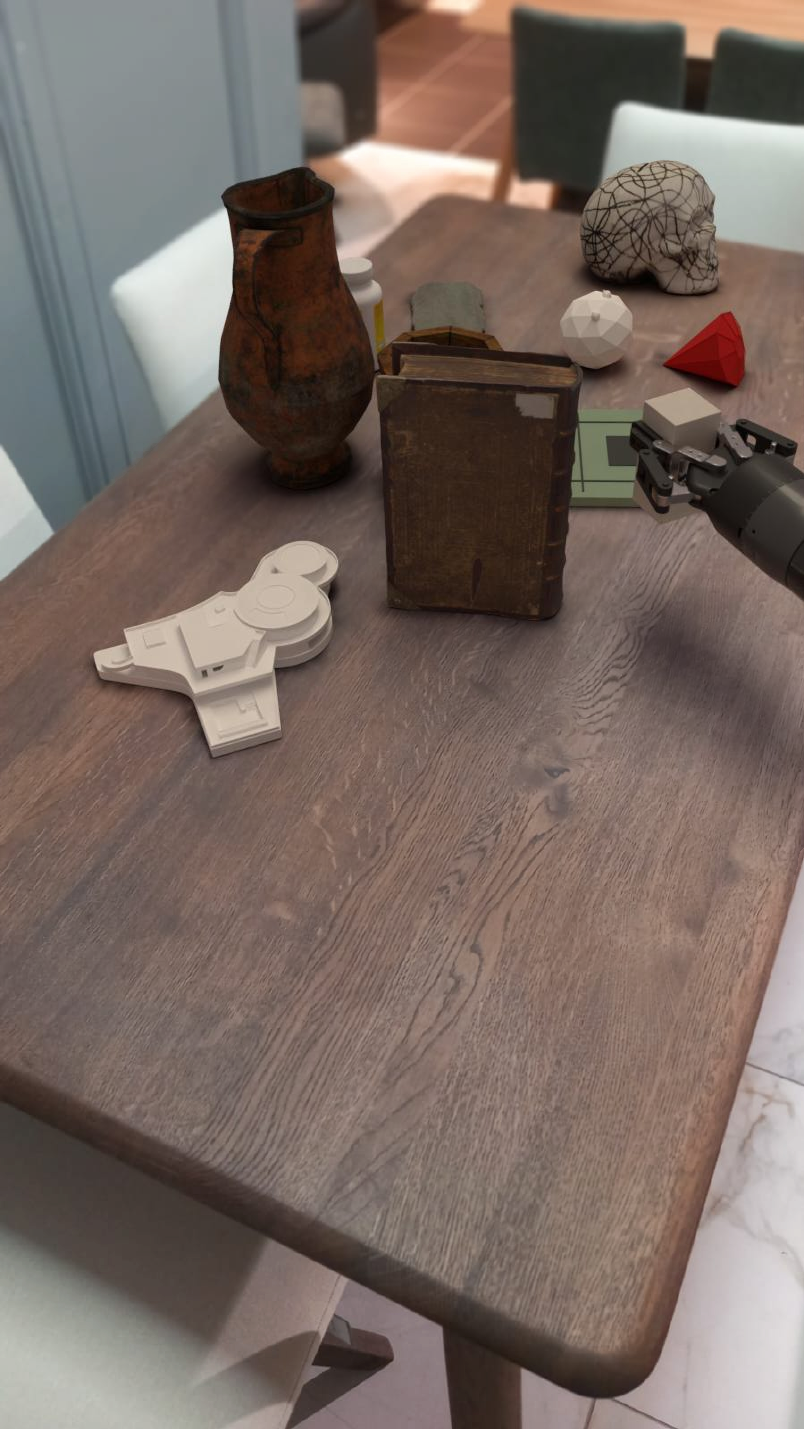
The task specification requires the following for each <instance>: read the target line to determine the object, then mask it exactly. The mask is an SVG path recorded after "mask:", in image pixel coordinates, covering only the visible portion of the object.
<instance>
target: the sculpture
mask: <svg viewBox="0 0 804 1429" xmlns="http://www.w3.org/2000/svg"><path fill="white" fill-rule="evenodd" d="M715 202H716V195H715V194H714V192H713V191H712V190H711V188H710V186H709V184H708V183H707V181H706V180H705V177H704V176H703V175H702V174H701V173H700V172H699V171H698V170H697V169H695V168H694V167H692V166H691V165H688V164H686V163H684V162H681V161H678V160H677V161H676V160H669V159H662V160H661V159H660V160H656V161H650V162H643V163H638V164H634V165H631V166H628V167H624V168H622V169H620V170H619V171H617V172H616V173H614V174H612V175H611V176H608V178H606V179H605V180H604V181H603V182H602V183H601V184H600V185H599V186H598V187H597V188H596V189H595V190H594V192H592V194H591V196H590V197H589V199H588V201H587V202H586V204H585V206H584V208H583V212H582V215H581V220H580V227H579V237H580V246H581V251H582V252H581V253H582V255H583V258H584V261H585V263H586V264H587V266H588V268H589V269H590V270H591V271H592V273H593V274H594V275H595V276H596V278H598V279H599V280H600V281H602V282H607V283H610V284H628V285H629V284H630V285H633V284H635V285H636V284H639V283H648V282H653V283H654V284H655V285H656V286H658V287H659V289H660V290H661V291H663V292H666V293H672V294H679V295H681V294H682V295H703V294H705V293H711V292H713V291H714V290H716V288H717V287H718V285H719V282H720V275H719V272H718V271H719V270H718V269H719V264H720V263H719V256H718V248H717V241H716V233H717V232H716V231H717V226H716V225H715V223H714V221H715V215H714V214H715V213H714V206H715Z"/></svg>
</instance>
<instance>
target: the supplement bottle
mask: <svg viewBox="0 0 804 1429" xmlns="http://www.w3.org/2000/svg"><path fill="white" fill-rule="evenodd" d="M338 260H339V259H338ZM339 266H340V271H341V273H342V275H343V277H344V279H345V281H346V283H347V285H348V287H349V289H350V291H351V293H352V295H353V297H354V299H355V301H356V303H357V306H358V308H359V311H360V314H361V316H362V319H363V321H364V324H365V326H366V329H367V331H368V334H369V339H370V343H371V348H372V352H373V357H374V361H375V372H376V371H379V364H378V359H377V353H379V352H380V351H381V350H382V349H383V348H385V347H386V346H387V345H386V333H385V315H384V300H383V290H382V287H381V285H380V284H379V283H378V282H377V281H375V280H374V279H372V278H373V275H374V268H373V267H374V266H373V262H372V261H371V260H370V259H368V258H365V257H360V256H354V257H353V256H352V257H345V258H342V259H340V260H339Z"/></svg>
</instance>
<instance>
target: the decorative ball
mask: <svg viewBox="0 0 804 1429" xmlns="http://www.w3.org/2000/svg"><path fill="white" fill-rule="evenodd" d="M633 317H634V316H633V313H632V312H631V311H630V310H629V307H627V305H626V304H625V303H624V302H623V300H622V299H621V297H620V296H619V295H615V294H612V293H611V291H610V290H605V289H603V290H602V291H599V290H594V291H592V292H588V293H587V294H585V295H581V296H579V297H578V298H575V299H573V300H572V301H571V303H570V304H569V306H568V307H567V309H566V310H565V312H564V314H563V315H562V317H561V319H560V320H559V333H560V334H559V338H560V339H559V340H560V342H559V343H560V347H561V348H562V350H563V351H564V352H565V354H566V356H568V357H569V358H570V359H571V360H572V361H574V362H577V363H578V364H579V366H580V367H585V368H588V369H593V370H598V369H601V368H604V367H606V366H609V365H612V364H613V363H616V362H618V361H619V360H620V359H621V358H622V357H623V356H624V355H625V353H626V352H628V349H629V347H630V345H631V343H632V341H633V340H634V339H633V335H634V334H633V330H634V328H633V324H634V323H633V322H634V319H633Z"/></svg>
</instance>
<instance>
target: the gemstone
mask: <svg viewBox="0 0 804 1429" xmlns="http://www.w3.org/2000/svg"><path fill="white" fill-rule="evenodd" d="M741 328H742V327H741V325H740V323H739V322H738V320H737V319H736V317H735V315H734V314H733V312H732V311H730V310H729V311H724V312H721V313H720V314H719V315H718V316H717V317H716V318H715V319H713V320H712V321H711V322H710V323H709V324H708V325H706V326H705V327H704V328H703V329H702V330H700V331H699V332H698V333H697V334H696V335H694V337H692V338H691V339H690V340H689V341H688V342H687V343H686V344H684V345H683V346H682V347H681V348H680V349H679V350H677V351H676V353H674V354H673V355H671V357H669V358H668V359H667V360H666V361H665V362H663V364H662V366H665V367H669V368H672V369H675V370H679V371H681V372H686V373H689V374H692V375H696V376H700V377H702V378H706V379H709V380H713V381H716V382H720V383H723V384H727V385H730V386H734V387H737V388H738V386H739V385H740V383H741V382H742V380H743V378H744V376H745V371H746V359H745V356H746V352H747V351H746V346H745V341H744V337H743V333H742V332H743V331H742V329H741Z"/></svg>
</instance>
